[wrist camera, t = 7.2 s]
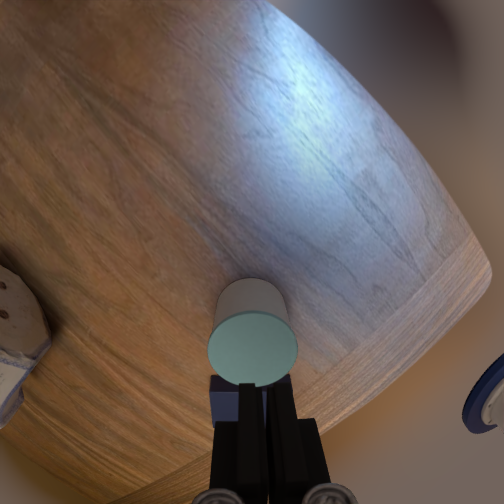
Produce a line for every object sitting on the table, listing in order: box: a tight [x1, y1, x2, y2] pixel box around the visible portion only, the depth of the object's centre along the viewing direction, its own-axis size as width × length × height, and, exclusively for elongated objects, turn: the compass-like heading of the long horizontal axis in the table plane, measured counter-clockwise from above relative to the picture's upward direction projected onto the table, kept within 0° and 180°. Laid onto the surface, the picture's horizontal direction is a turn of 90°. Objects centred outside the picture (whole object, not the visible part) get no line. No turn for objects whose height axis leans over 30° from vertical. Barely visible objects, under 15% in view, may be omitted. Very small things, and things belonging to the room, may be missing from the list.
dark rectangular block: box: [209, 375, 293, 428], centre depth 35 cm, size 9×6×3 cm, turn 90°
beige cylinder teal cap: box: [207, 278, 298, 387], centre depth 29 cm, size 10×7×10 cm
